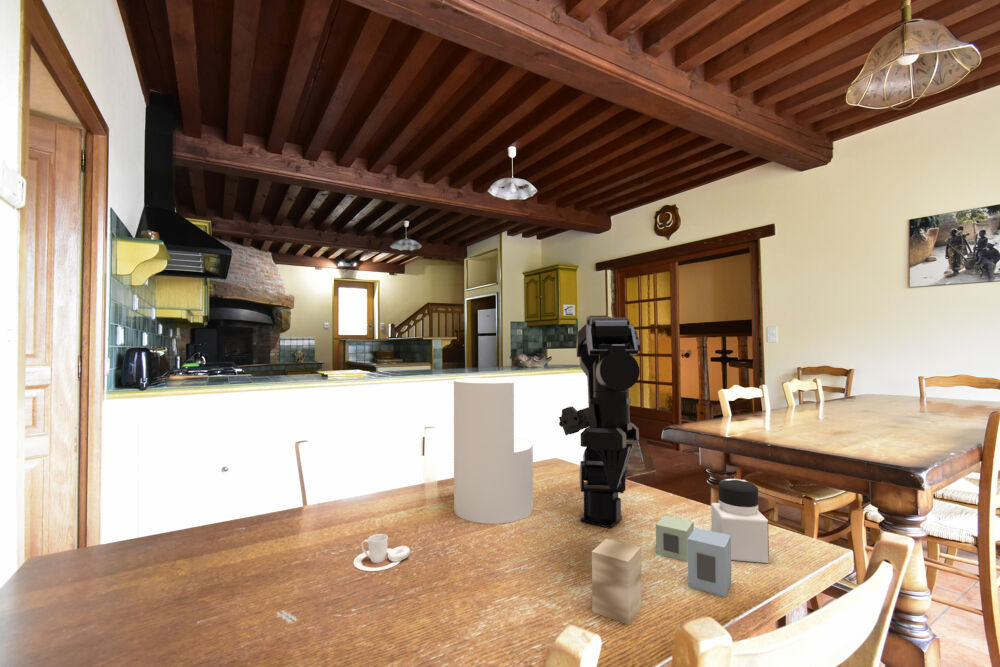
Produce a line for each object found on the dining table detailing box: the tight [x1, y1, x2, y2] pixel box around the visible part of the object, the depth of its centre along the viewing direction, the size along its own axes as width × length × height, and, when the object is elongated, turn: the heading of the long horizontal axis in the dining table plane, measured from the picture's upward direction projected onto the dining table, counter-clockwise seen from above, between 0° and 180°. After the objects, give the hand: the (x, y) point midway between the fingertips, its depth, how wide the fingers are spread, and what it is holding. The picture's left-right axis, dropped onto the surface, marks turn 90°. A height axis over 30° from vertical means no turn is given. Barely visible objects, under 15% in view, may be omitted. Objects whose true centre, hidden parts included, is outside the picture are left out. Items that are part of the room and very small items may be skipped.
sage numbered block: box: [655, 515, 695, 562], centre depth 78 cm, size 5×5×5 cm
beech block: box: [591, 538, 643, 626], centre depth 61 cm, size 5×5×8 cm
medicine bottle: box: [710, 478, 770, 564], centre depth 78 cm, size 7×7×12 cm
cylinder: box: [453, 377, 534, 525], centre depth 100 cm, size 17×17×28 cm
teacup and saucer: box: [353, 533, 411, 572], centre depth 76 cm, size 9×8×4 cm
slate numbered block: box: [687, 527, 732, 598], centre depth 68 cm, size 5×5×7 cm
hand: (613, 488), depth 73 cm, fingers closed
